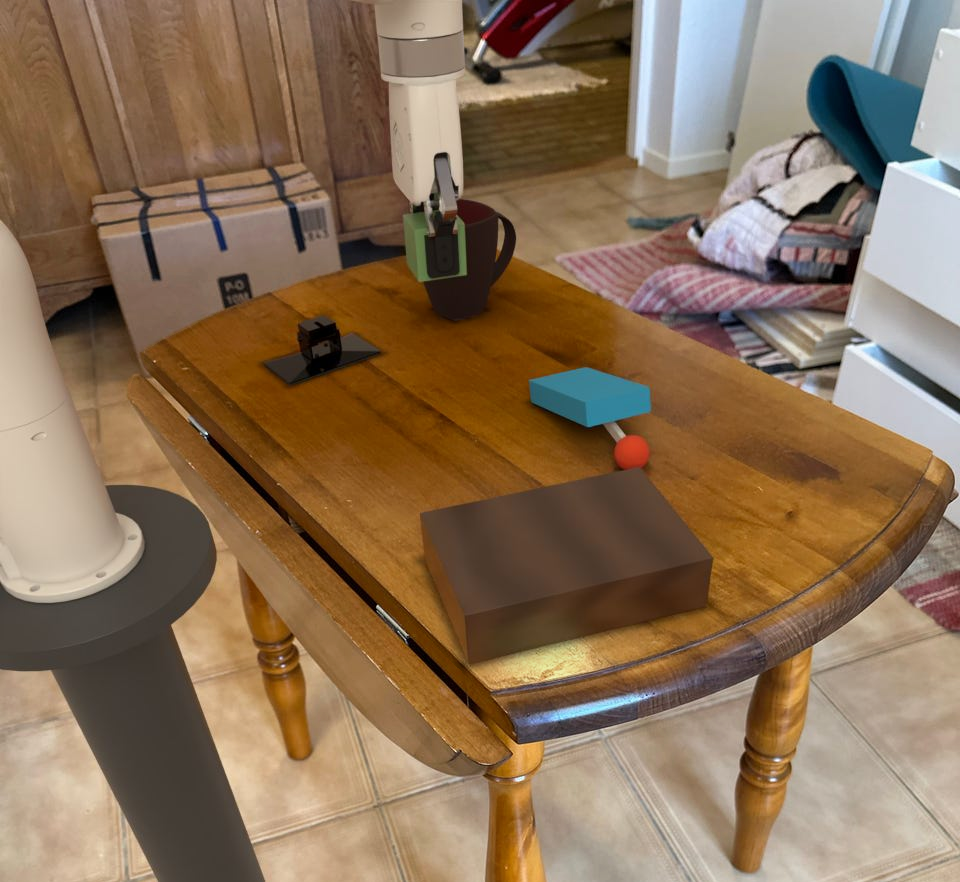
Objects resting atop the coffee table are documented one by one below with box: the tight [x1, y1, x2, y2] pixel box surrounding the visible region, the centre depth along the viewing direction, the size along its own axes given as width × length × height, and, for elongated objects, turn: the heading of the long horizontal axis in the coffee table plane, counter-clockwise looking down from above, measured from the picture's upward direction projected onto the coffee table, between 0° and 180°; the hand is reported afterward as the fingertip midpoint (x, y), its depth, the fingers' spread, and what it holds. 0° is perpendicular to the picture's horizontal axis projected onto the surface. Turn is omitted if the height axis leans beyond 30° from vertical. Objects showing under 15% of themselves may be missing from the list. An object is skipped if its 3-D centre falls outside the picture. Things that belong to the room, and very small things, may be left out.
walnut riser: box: [419, 467, 714, 665], centre depth 76 cm, size 20×14×5 cm
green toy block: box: [402, 210, 467, 283], centre depth 92 cm, size 5×5×5 cm
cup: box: [408, 198, 517, 321], centre depth 117 cm, size 10×14×12 cm
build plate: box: [263, 314, 382, 386], centre depth 110 cm, size 12×7×5 cm, turn 126°
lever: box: [528, 366, 652, 470], centre depth 95 cm, size 7×7×18 cm
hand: (436, 263), depth 94 cm, fingers closed on green toy block, 5 cm apart
